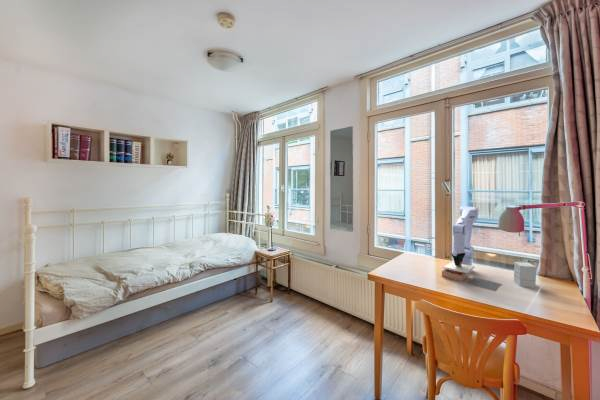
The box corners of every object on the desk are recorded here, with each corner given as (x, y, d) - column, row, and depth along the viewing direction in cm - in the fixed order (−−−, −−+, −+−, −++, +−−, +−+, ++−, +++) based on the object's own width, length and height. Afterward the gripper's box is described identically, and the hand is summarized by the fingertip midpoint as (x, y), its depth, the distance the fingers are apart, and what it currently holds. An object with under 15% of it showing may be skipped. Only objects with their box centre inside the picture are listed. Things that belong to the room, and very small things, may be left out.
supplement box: (528, 283, 145) (529, 262, 144) (535, 288, 138) (537, 267, 137) (512, 282, 148) (514, 261, 147) (519, 287, 141) (520, 265, 140)
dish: (448, 272, 164) (448, 266, 163) (467, 277, 155) (468, 271, 155) (441, 277, 157) (441, 270, 156) (461, 282, 148) (461, 276, 148)
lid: (451, 263, 163) (451, 257, 163) (474, 267, 153) (474, 261, 153) (443, 268, 155) (443, 262, 155) (467, 273, 145) (467, 266, 145)
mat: (473, 277, 155) (474, 276, 155) (502, 285, 144) (502, 284, 144) (465, 284, 146) (465, 283, 146) (495, 292, 135) (495, 291, 135)
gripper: (462, 246, 145) (461, 269, 146) (470, 242, 154) (469, 263, 156) (448, 244, 151) (448, 266, 152) (457, 240, 160) (456, 261, 161)
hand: (458, 264), depth 154 cm, fingers closed on lid, 3 cm apart
